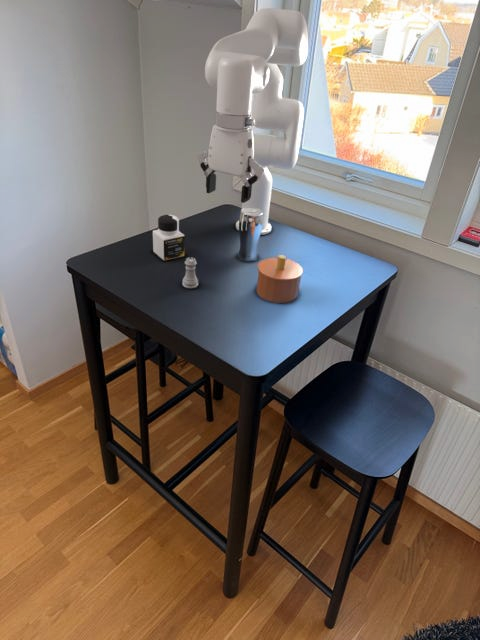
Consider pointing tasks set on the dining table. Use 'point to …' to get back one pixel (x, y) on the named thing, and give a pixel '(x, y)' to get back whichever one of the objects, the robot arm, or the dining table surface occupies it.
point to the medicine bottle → (168, 238)
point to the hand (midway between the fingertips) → (227, 196)
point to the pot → (277, 289)
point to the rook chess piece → (190, 274)
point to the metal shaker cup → (249, 233)
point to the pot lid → (280, 268)
